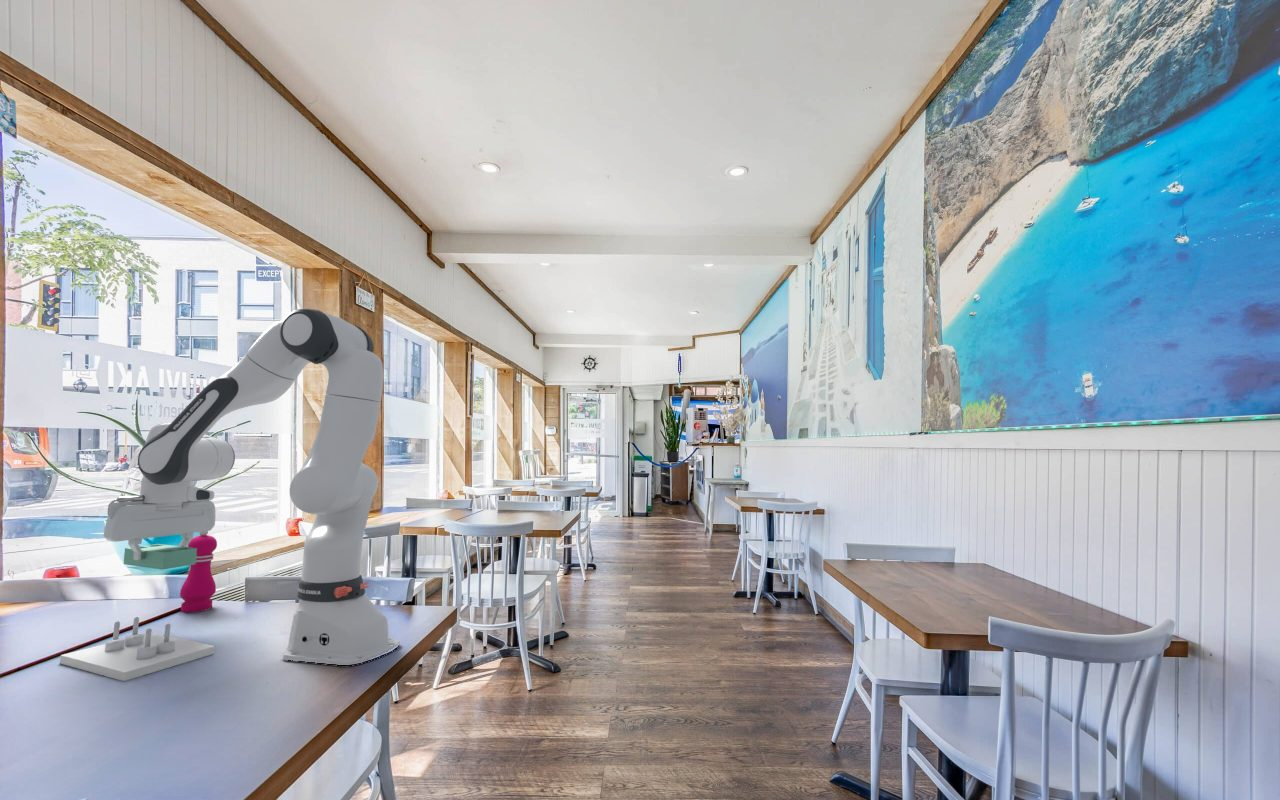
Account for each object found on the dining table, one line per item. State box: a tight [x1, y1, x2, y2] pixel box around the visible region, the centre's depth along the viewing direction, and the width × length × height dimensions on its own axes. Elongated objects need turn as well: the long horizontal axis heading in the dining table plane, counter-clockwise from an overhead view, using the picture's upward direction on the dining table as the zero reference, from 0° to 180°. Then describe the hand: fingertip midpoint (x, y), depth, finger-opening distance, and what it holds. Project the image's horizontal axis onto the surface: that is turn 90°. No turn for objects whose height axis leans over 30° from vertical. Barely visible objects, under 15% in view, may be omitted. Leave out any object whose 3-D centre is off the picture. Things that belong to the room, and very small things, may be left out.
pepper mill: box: [179, 531, 218, 613], centre depth 145 cm, size 7×7×20 cm
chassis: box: [59, 616, 215, 682], centre depth 111 cm, size 20×15×7 cm
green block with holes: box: [123, 543, 197, 571], centre depth 127 cm, size 14×6×4 cm, turn 69°
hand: (160, 556), depth 127 cm, fingers closed on green block with holes, 6 cm apart
